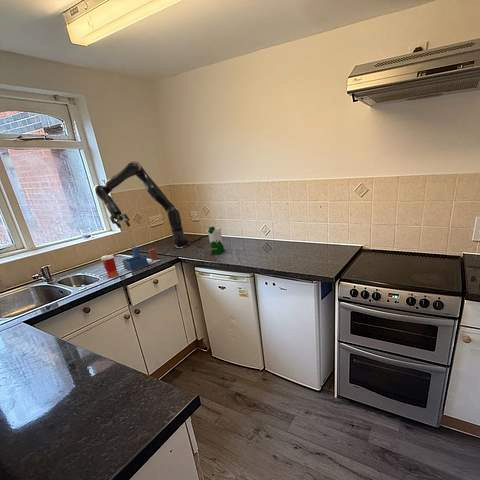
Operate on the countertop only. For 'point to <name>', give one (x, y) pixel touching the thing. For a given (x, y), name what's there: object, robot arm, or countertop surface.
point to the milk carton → (215, 240)
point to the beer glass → (109, 265)
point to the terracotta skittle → (153, 254)
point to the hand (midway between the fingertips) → (124, 226)
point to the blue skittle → (135, 251)
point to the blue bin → (135, 262)
